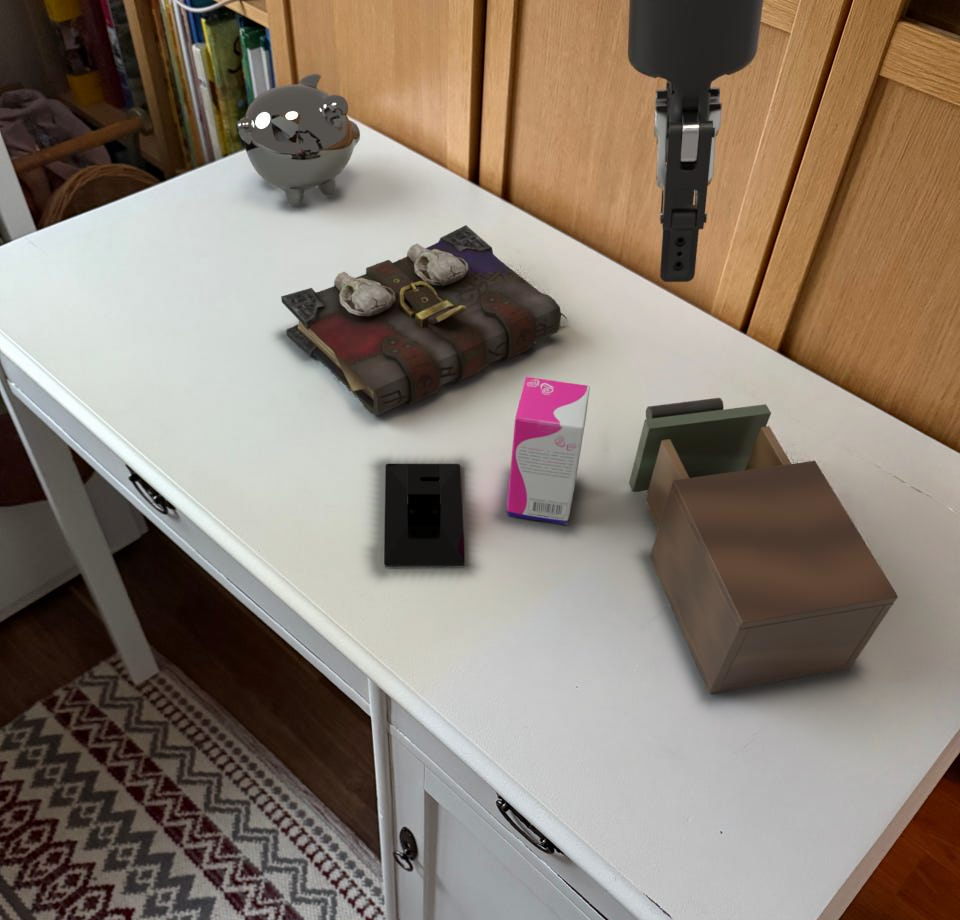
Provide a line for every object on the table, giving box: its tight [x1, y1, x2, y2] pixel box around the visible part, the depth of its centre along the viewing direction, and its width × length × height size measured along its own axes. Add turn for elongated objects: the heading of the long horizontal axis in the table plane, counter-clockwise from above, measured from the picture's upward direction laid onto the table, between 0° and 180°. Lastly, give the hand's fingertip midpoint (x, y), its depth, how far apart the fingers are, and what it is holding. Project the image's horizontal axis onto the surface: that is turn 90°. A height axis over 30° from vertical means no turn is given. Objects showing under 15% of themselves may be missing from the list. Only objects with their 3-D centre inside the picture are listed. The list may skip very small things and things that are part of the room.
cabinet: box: [649, 460, 899, 694], centre depth 77 cm, size 15×13×10 cm
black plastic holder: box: [380, 463, 466, 569], centre depth 83 cm, size 12×7×5 cm, turn 3°
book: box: [280, 224, 568, 416], centre depth 97 cm, size 26×18×7 cm
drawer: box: [628, 397, 792, 528], centre depth 83 cm, size 18×11×8 cm, turn 13°
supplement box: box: [506, 376, 591, 526], centre depth 82 cm, size 6×6×12 cm
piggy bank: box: [235, 73, 361, 207], centre depth 111 cm, size 11×15×12 cm
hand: (676, 248), depth 65 cm, fingers open, 8 cm apart
